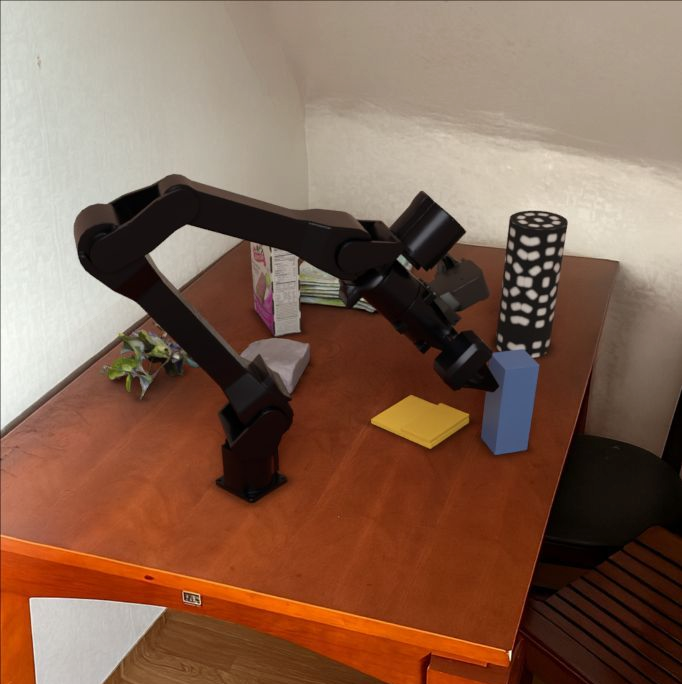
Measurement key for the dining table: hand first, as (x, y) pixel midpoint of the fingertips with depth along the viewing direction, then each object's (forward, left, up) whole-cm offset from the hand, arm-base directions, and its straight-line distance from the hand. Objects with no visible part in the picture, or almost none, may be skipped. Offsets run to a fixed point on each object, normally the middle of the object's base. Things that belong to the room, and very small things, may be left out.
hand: (480, 371), depth 117 cm
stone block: (-3, +34, -11) cm, 36 cm away
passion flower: (-17, +44, -11) cm, 48 cm away
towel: (+30, +46, -11) cm, 56 cm away
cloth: (+1, +9, -11) cm, 14 cm away
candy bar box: (+11, +46, -11) cm, 49 cm away
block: (+4, -2, -11) cm, 12 cm away
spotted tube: (+30, +11, -11) cm, 34 cm away
